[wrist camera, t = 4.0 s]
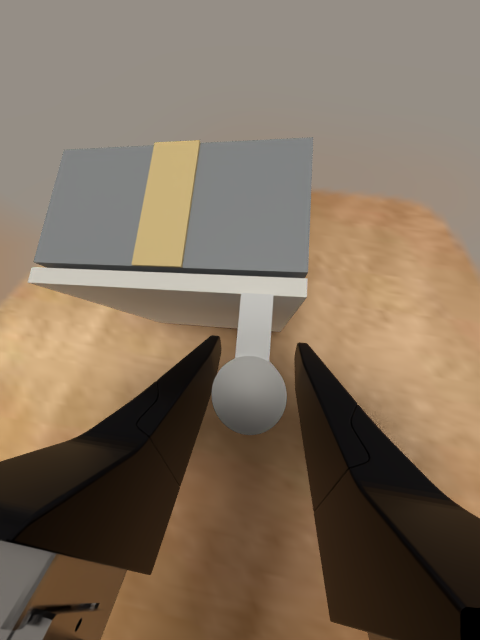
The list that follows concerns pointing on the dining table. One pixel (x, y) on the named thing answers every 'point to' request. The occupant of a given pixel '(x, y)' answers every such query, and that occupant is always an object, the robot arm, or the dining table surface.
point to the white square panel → (205, 310)
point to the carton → (183, 209)
